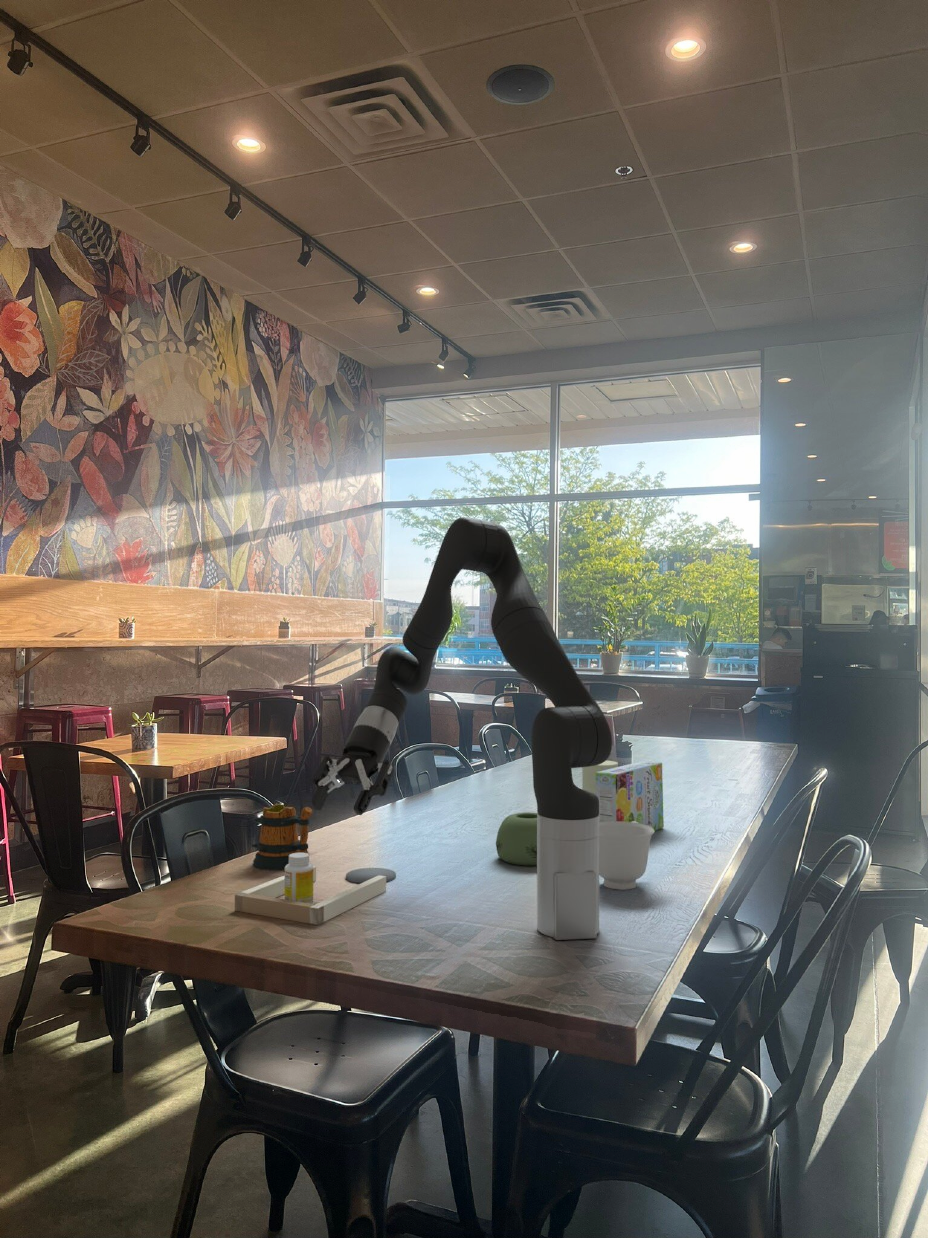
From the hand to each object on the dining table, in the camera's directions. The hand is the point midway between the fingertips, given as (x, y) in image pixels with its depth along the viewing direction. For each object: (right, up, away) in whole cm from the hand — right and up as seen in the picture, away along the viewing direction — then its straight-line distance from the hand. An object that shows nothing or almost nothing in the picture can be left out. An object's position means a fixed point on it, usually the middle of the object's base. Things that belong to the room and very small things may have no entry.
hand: (336, 810), depth 154 cm
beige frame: (-3, -14, -6) cm, 15 cm away
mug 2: (+35, -14, +23) cm, 44 cm away
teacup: (+50, -14, +4) cm, 52 cm away
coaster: (+5, -14, +8) cm, 17 cm away
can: (+56, -15, +73) cm, 94 cm away
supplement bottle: (-5, -14, -10) cm, 17 cm away
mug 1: (-12, -14, +17) cm, 25 cm away
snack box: (+59, -15, +43) cm, 74 cm away
